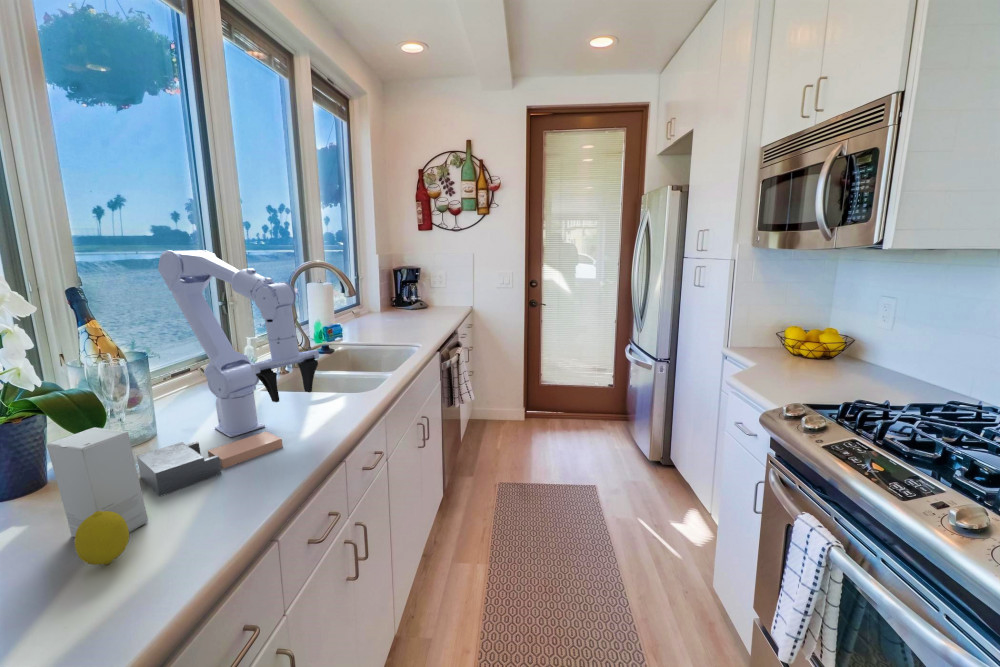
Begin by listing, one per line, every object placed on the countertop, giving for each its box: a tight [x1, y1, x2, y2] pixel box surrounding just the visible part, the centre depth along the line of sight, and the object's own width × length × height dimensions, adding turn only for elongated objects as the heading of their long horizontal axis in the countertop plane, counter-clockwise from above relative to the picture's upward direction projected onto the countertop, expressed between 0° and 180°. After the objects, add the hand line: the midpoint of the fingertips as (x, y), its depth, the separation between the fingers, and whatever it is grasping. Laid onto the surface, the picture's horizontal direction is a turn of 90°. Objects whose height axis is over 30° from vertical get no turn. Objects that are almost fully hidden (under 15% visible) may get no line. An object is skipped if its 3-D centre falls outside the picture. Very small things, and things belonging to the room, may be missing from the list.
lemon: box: [74, 511, 130, 566], centre depth 62 cm, size 6×6×8 cm
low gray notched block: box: [136, 441, 222, 497], centre depth 87 cm, size 11×10×4 cm
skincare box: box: [46, 426, 149, 538], centre depth 69 cm, size 8×7×16 cm
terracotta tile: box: [207, 431, 284, 469], centre depth 96 cm, size 7×12×2 cm, turn 143°
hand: (292, 396), depth 102 cm, fingers open, 7 cm apart
